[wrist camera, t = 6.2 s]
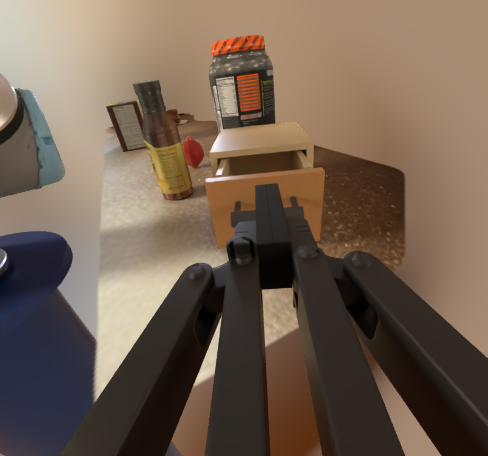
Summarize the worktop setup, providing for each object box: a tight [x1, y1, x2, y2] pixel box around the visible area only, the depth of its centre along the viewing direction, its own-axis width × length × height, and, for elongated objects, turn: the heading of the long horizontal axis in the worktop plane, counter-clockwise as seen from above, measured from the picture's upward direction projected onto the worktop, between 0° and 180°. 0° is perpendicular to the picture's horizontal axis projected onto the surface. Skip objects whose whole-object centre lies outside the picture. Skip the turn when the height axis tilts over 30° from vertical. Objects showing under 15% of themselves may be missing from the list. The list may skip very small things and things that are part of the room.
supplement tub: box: [209, 35, 275, 133], centre depth 62 cm, size 16×16×26 cm
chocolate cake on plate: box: [166, 109, 188, 125], centre depth 135 cm, size 18×18×7 cm
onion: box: [182, 136, 204, 168], centre depth 61 cm, size 6×6×8 cm
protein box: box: [106, 100, 146, 152], centre depth 92 cm, size 10×15×16 cm
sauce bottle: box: [133, 80, 193, 200], centre depth 43 cm, size 7×6×20 cm
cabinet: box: [209, 121, 314, 178], centre depth 41 cm, size 16×14×11 cm
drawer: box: [205, 150, 325, 248], centre depth 32 cm, size 19×13×9 cm, turn 178°
